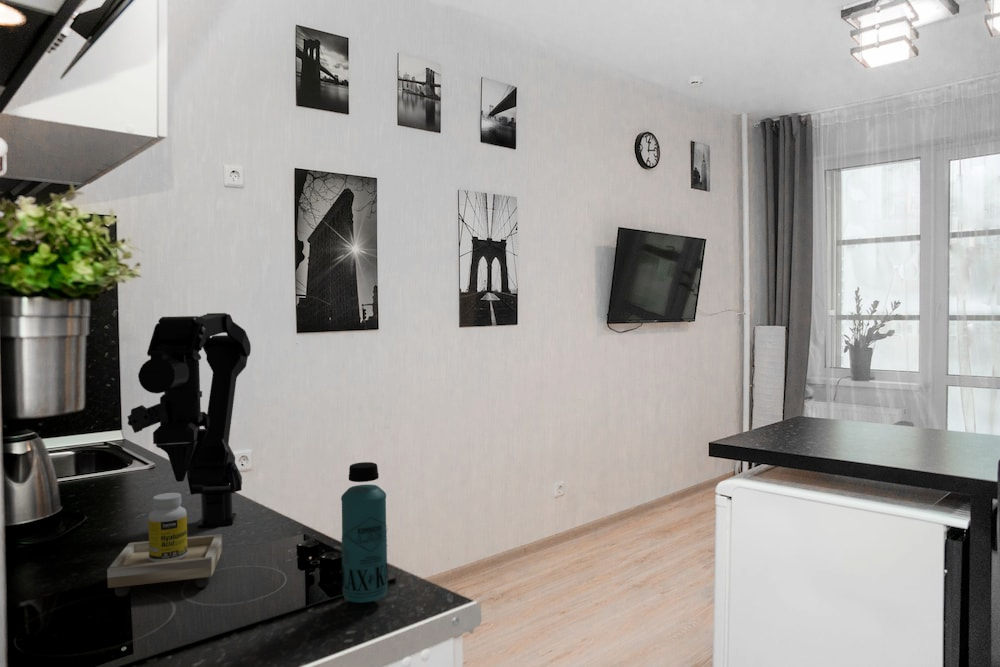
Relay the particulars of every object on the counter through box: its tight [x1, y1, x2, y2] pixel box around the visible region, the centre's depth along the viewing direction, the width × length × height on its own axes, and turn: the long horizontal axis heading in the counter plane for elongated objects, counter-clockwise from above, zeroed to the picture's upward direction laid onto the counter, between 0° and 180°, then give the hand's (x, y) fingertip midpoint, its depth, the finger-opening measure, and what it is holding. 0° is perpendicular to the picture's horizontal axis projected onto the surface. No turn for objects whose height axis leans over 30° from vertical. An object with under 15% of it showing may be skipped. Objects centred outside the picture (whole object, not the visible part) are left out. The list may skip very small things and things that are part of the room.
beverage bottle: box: [340, 461, 389, 603], centre depth 96 cm, size 6×7×20 cm
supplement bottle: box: [147, 492, 188, 562], centre depth 106 cm, size 5×5×10 cm
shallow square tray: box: [106, 533, 223, 598], centre depth 107 cm, size 12×14×5 cm
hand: (184, 475), depth 121 cm, fingers open, 9 cm apart
